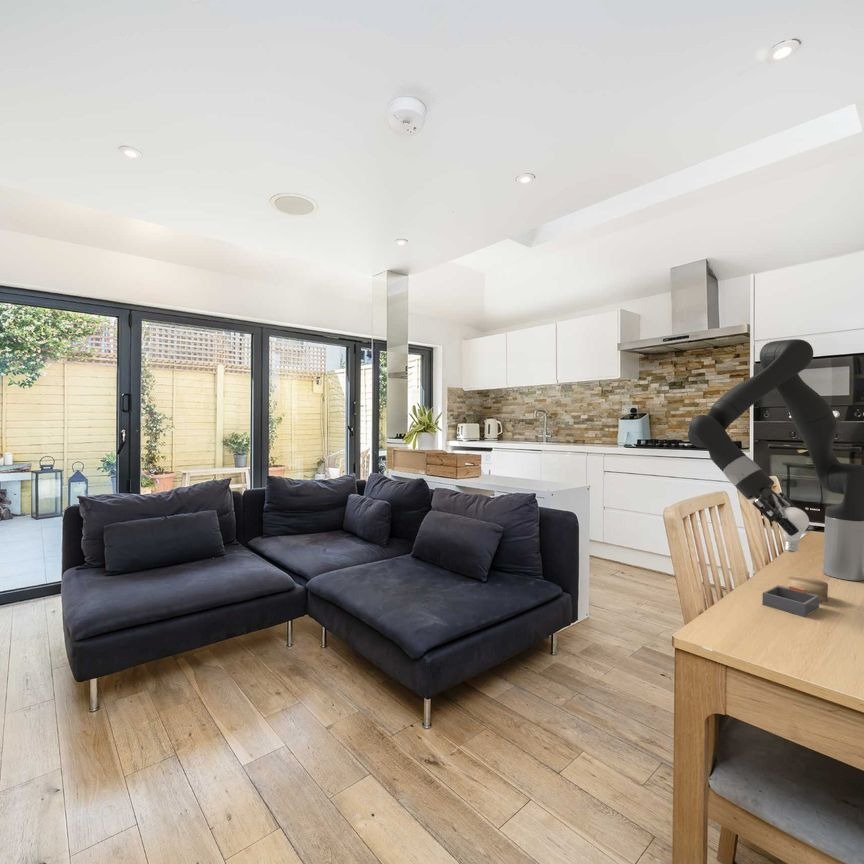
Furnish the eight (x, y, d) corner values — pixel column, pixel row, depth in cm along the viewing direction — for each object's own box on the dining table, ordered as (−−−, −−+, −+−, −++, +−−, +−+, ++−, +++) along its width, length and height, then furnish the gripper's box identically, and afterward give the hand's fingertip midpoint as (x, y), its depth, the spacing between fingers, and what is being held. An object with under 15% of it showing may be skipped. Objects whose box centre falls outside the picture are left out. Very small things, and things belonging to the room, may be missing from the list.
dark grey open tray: (777, 596, 123) (778, 582, 122) (818, 607, 116) (819, 592, 115) (762, 604, 117) (762, 589, 117) (804, 617, 110) (805, 600, 110)
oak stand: (794, 588, 129) (795, 574, 128) (831, 598, 122) (832, 582, 122) (783, 594, 124) (783, 579, 124) (821, 604, 117) (821, 589, 117)
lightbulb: (813, 556, 112) (815, 510, 111) (783, 554, 113) (785, 509, 113) (798, 548, 118) (800, 505, 118) (770, 547, 119) (772, 504, 119)
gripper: (747, 470, 117) (803, 527, 108) (771, 466, 125) (825, 519, 116) (723, 488, 121) (775, 544, 112) (747, 483, 130) (798, 536, 121)
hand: (800, 531), depth 114 cm, fingers closed on lightbulb, 6 cm apart
